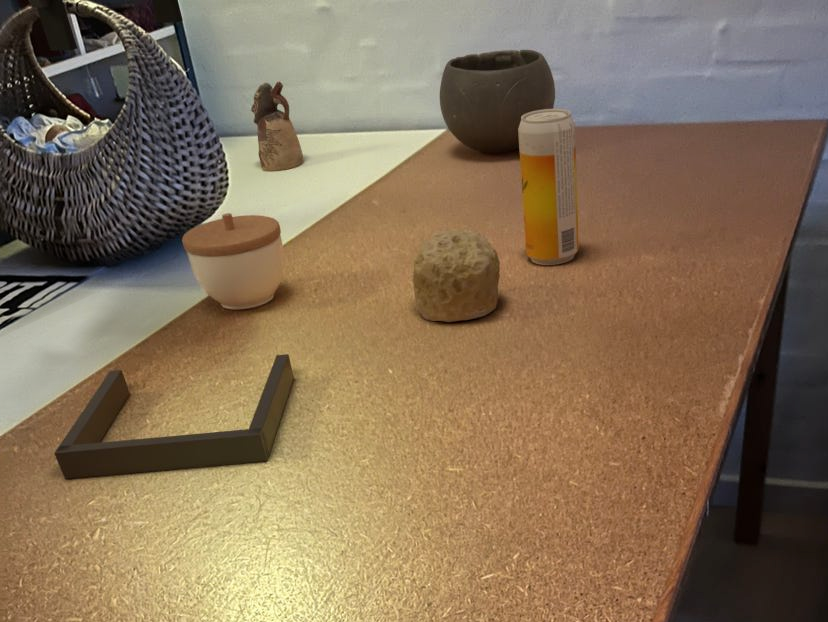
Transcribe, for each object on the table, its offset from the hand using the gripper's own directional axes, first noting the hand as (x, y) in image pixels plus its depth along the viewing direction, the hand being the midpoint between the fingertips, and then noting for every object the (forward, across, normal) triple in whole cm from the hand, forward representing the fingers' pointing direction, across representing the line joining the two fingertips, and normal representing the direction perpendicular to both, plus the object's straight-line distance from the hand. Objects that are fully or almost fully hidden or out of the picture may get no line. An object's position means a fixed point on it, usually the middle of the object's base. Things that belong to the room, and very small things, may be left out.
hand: (119, 35), depth 92 cm
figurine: (+27, +57, +34) cm, 72 cm away
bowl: (+28, +71, +1) cm, 77 cm away
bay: (+27, -20, -17) cm, 38 cm away
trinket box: (+28, +6, -2) cm, 28 cm away
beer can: (+28, +28, -30) cm, 49 cm away
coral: (+28, +11, -28) cm, 40 cm away
